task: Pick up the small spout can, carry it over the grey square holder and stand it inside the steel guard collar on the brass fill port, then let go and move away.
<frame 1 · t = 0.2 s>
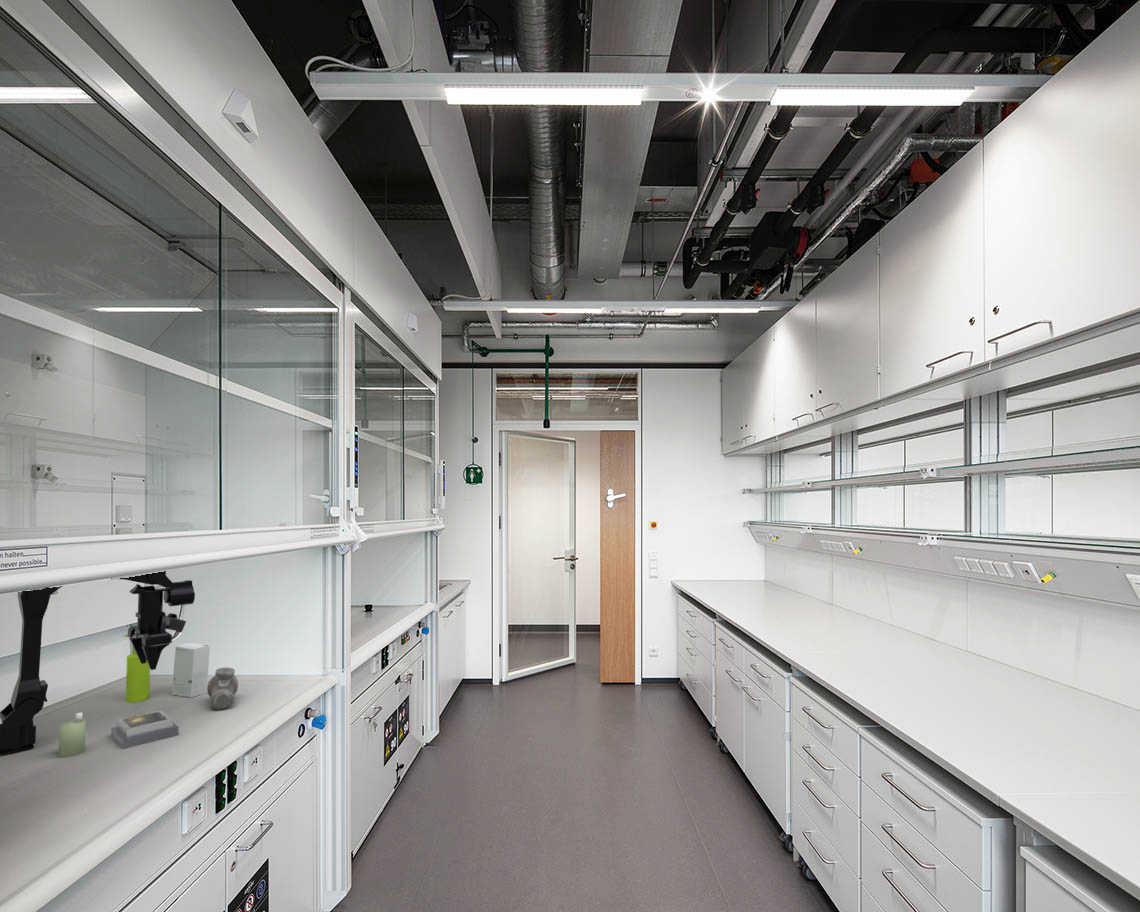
hand: (148, 666, 179), 14 cm above the table, fingers open, 9 cm apart
soap dispenser: (135, 700, 195), on the table
pipe fitting: (222, 705, 190), on the table
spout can: (71, 753, 156), on the table
skincare box: (190, 694, 201), on the table
grey square holder: (144, 735, 167), on the table
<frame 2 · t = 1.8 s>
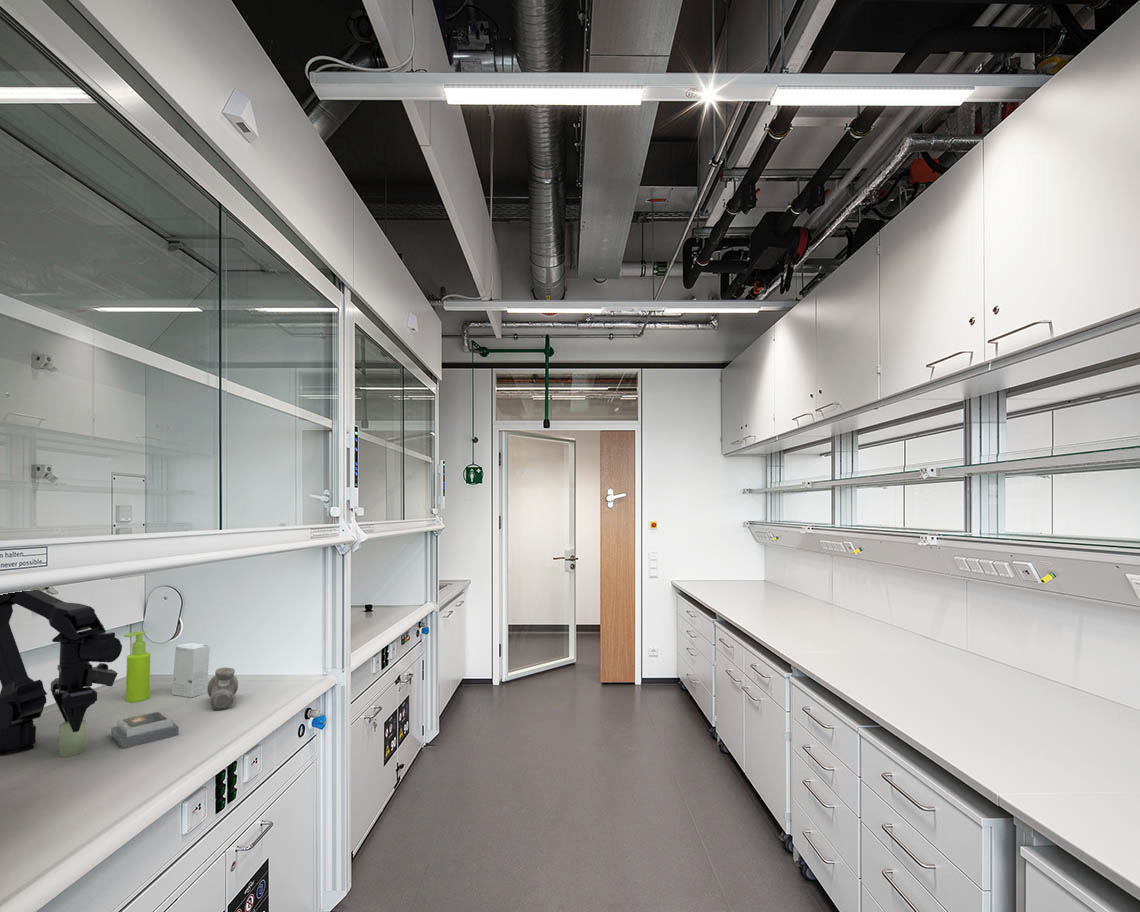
hand: (72, 726, 156), 6 cm above the table, fingers open, 9 cm apart
nothing on the table moved.
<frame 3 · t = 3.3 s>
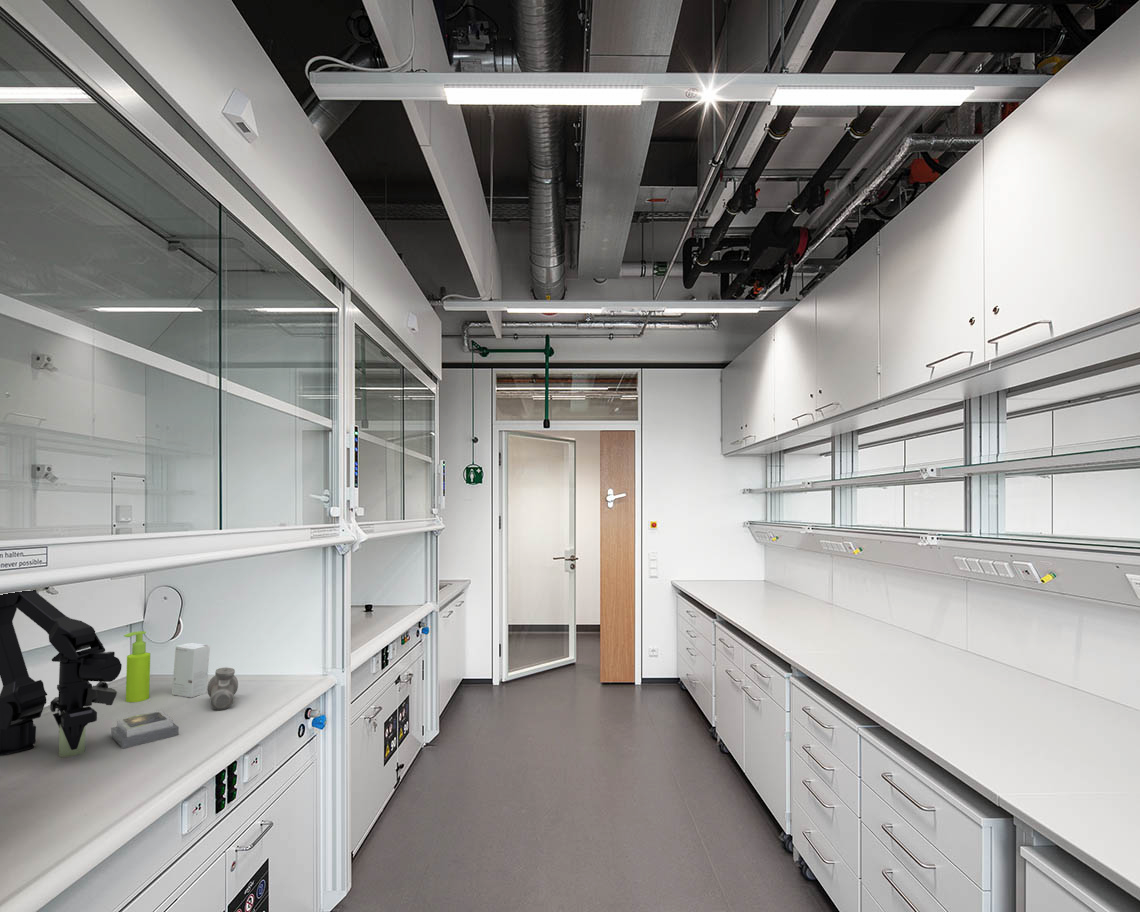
hand: (71, 746, 156), 2 cm above the table, fingers closed on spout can, 5 cm apart
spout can: (71, 752, 156), on the table, touching gripper
everything else where it was.
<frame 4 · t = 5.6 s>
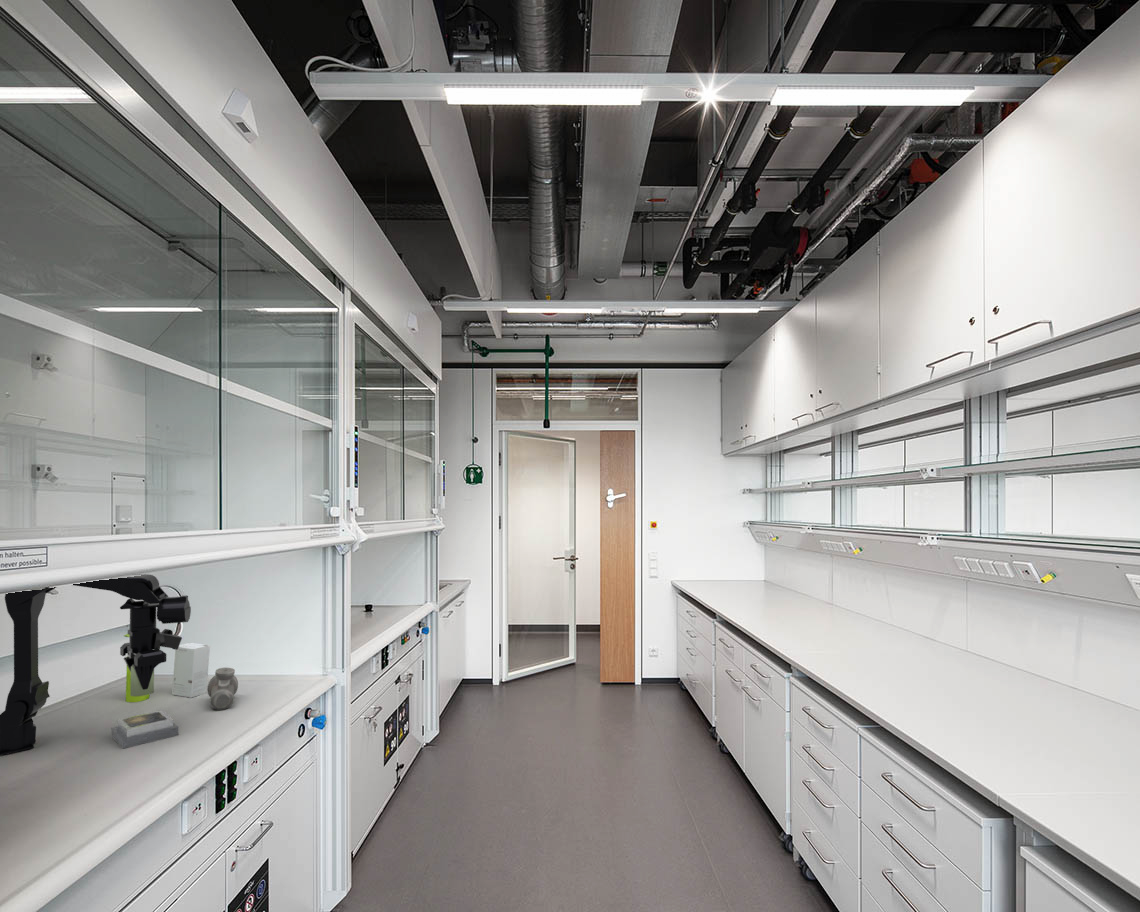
hand: (142, 687, 167), 12 cm above the table, fingers closed on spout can, 5 cm apart
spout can: (142, 693, 167), point 11 cm above the table, touching gripper
everything else where it was.
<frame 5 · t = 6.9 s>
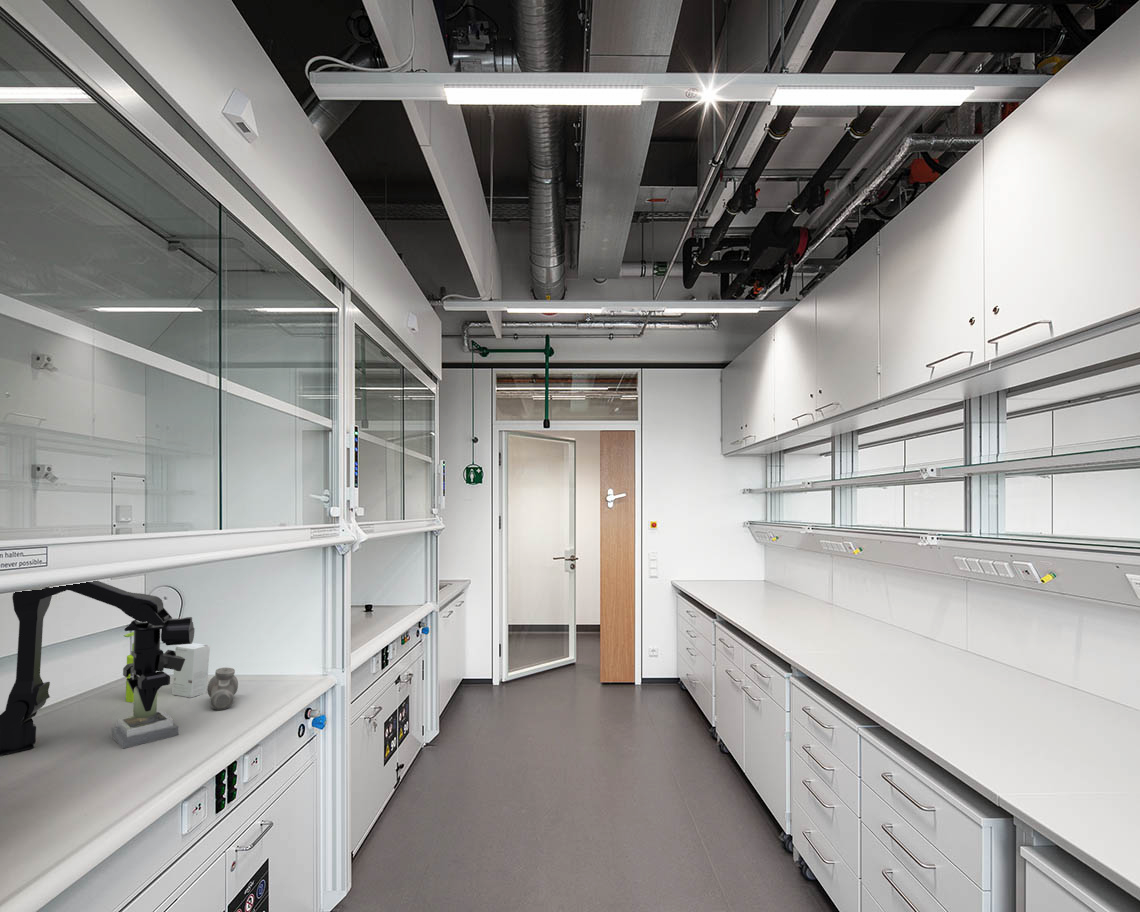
hand: (145, 708, 167), 7 cm above the table, fingers closed on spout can, 5 cm apart
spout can: (144, 714, 167), point 5 cm above the table, touching gripper
everything else where it was.
when the fingers open (5 cm above the table, at t = 8.1 s): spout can drops 1 cm, resting on grey square holder.
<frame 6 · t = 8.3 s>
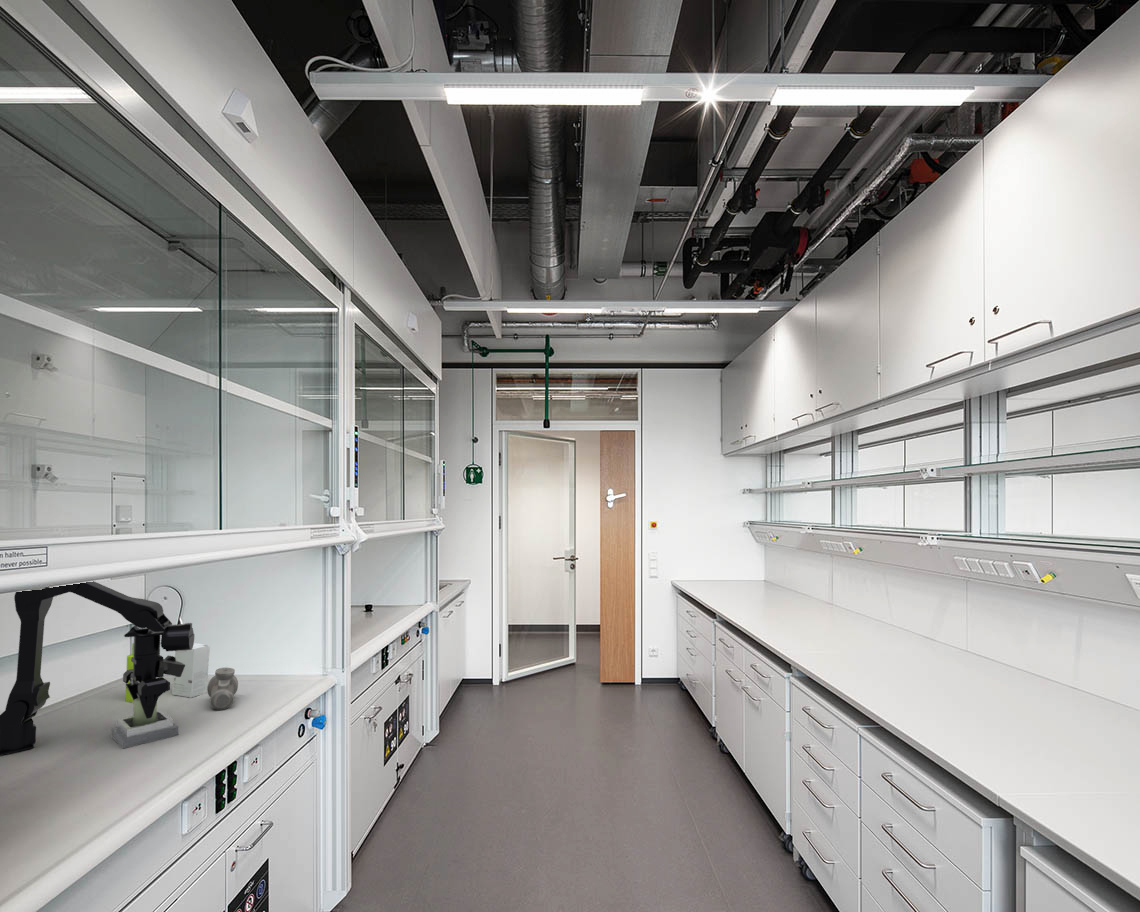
hand: (145, 714, 167), 5 cm above the table, fingers open, 7 cm apart
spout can: (144, 726, 167), point 2 cm above the table, touching grey square holder
everything else where it was.
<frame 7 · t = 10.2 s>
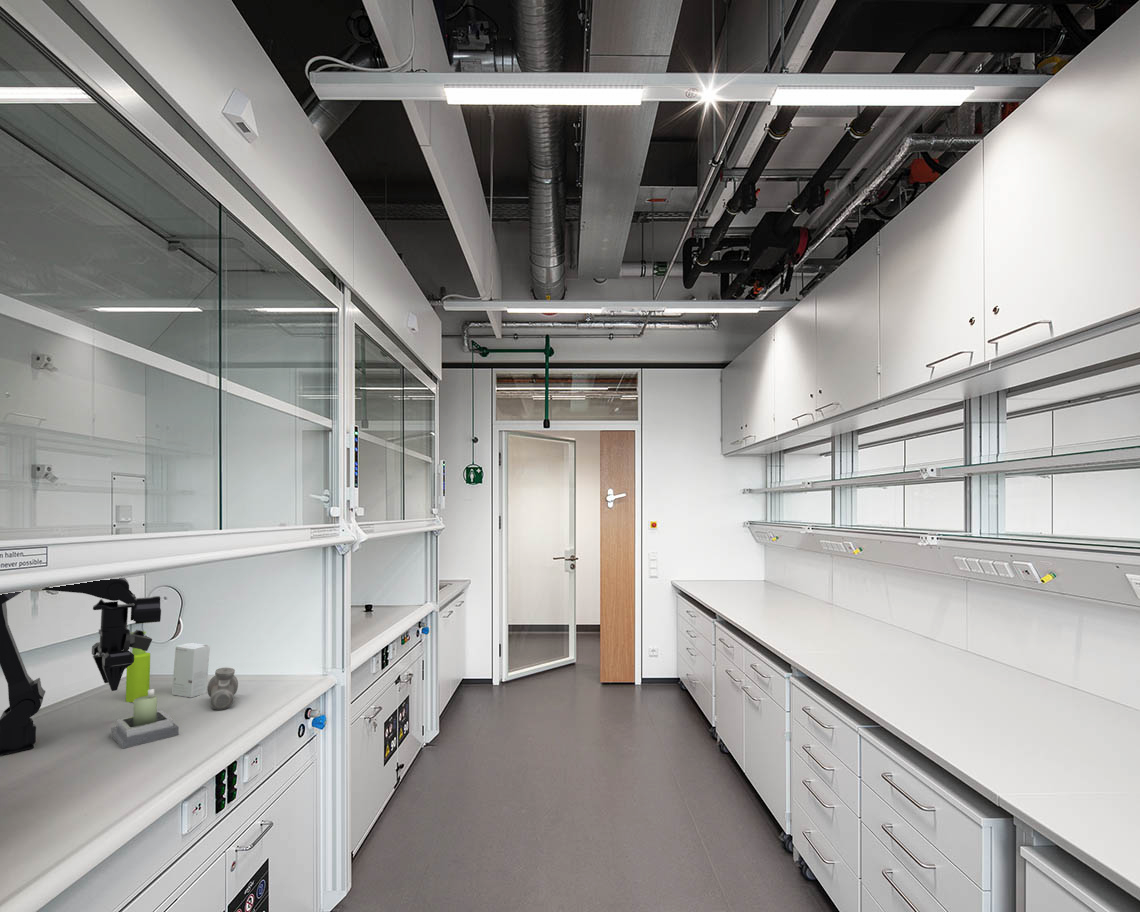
hand: (110, 686, 170), 12 cm above the table, fingers open, 9 cm apart
nothing on the table moved.
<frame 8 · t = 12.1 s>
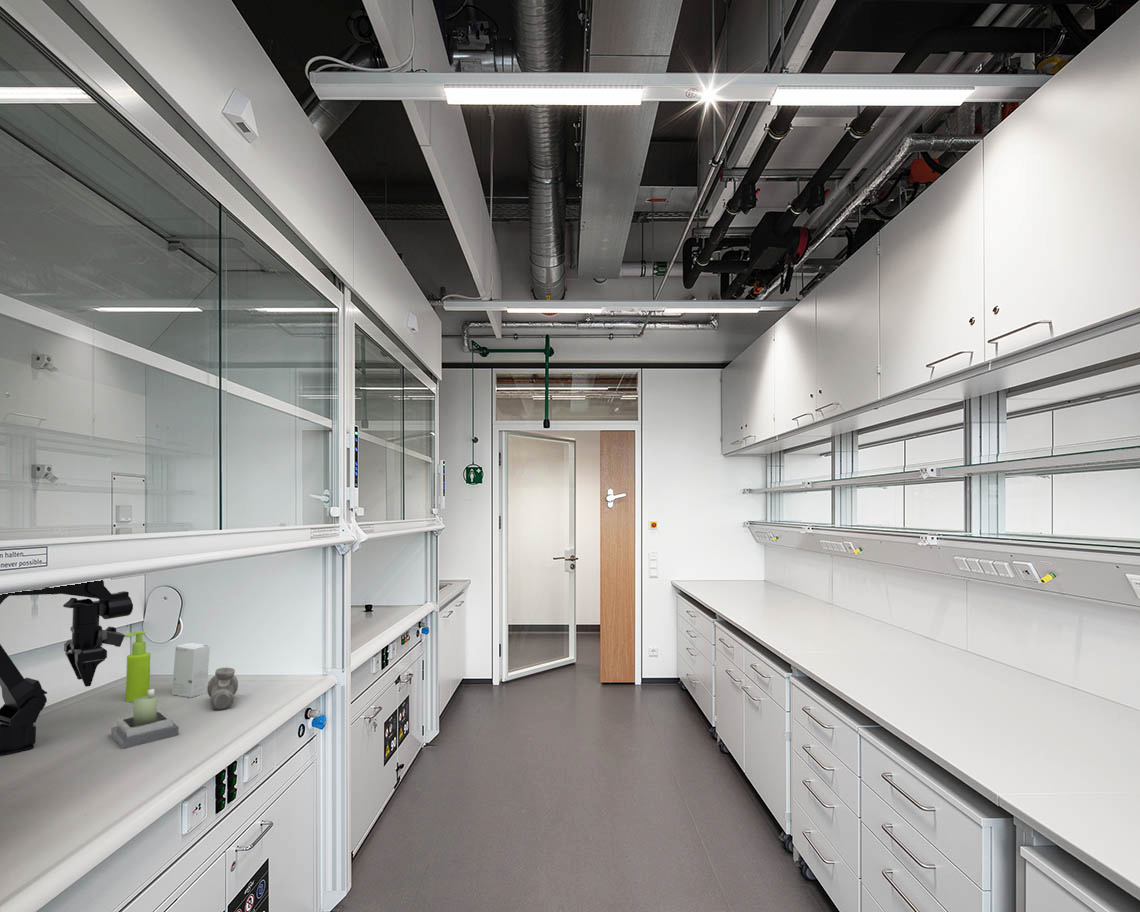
hand: (84, 682, 172), 12 cm above the table, fingers open, 9 cm apart
nothing on the table moved.
at the end: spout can 0.0 cm off-centre on the grey square holder, point 2.2 cm above the grey square holder's base; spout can tilted 0°; the gripper is holding nothing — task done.
